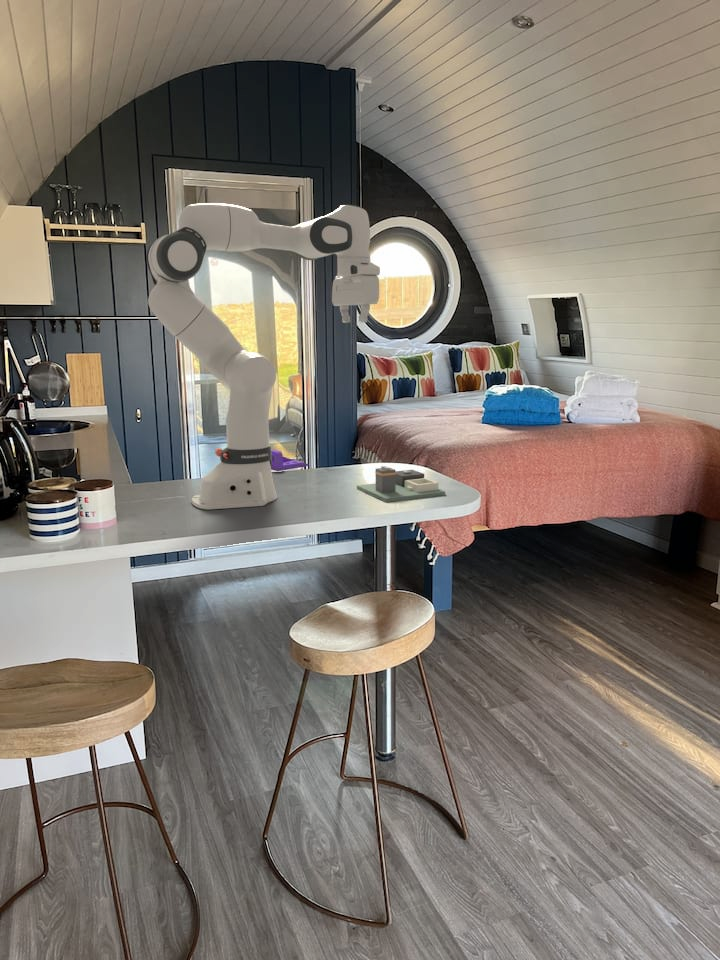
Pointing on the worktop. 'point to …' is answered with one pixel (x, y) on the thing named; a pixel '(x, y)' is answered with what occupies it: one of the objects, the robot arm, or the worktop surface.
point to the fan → (407, 476)
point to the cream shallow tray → (421, 485)
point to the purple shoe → (284, 462)
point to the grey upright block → (385, 479)
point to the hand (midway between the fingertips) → (354, 322)
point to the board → (397, 493)
